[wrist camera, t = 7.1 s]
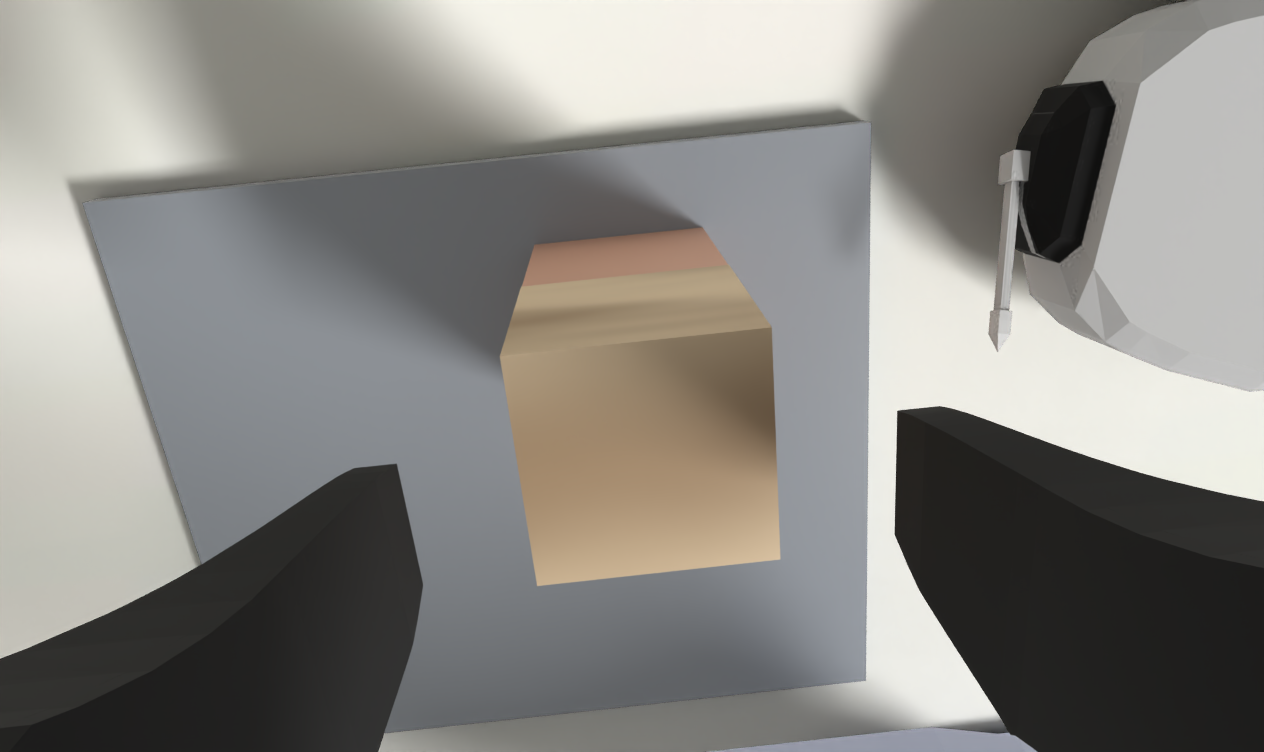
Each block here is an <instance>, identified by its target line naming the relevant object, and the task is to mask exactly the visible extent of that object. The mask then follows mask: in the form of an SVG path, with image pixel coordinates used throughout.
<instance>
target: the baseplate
mask: <svg viewBox="0 0 1264 752" xmlns="http://www.w3.org/2000/svg"><path fill="white" fill-rule="evenodd" d="M870 177H871V122H866V121H856V122H846V123H836V124H826V125H817V126H807V127H797V128H787V129H777V130H768V131H758V132H748V133H738V134H728V135H718V136H709V137H699V138H689V139H679V140H669V141H659V142H650V143H640V144H630V145H620V146H610V147H601V148H591V149H581V150H571V151H561V152H551V153H542V154H532V155H522V156H512V157H502V158H493V159H483V160H473V161H463V162H453V163H443V164H434V165H424V166H414V167H404V168H394V169H385V170H375V171H365V172H355V173H345V174H335V175H326V176H316V177H306V178H296V179H286V180H277V181H267V182H257V183H247V184H237V185H227V186H218V187H208V188H198V189H188V190H178V191H168V192H159V193H149V194H139V195H129V196H119V197H110V198H100V199H94V200H91V201H87V202H84V203H83V206H84V209H85V212H86V215H87V218H88V222H89V225H90V228H91V231H92V234H93V237H94V240H95V243H96V246H97V249H98V252H99V255H100V258H101V261H102V264H103V267H104V270H105V273H106V276H107V279H108V282H109V285H110V288H111V291H112V294H113V297H114V300H115V303H116V306H117V309H118V313H119V316H120V319H121V322H122V325H123V328H124V331H125V334H126V337H127V340H128V343H129V346H130V349H131V352H132V355H133V358H134V361H135V364H136V367H137V370H138V373H139V376H140V379H141V382H142V385H143V388H144V391H145V394H146V397H147V400H148V404H149V407H150V410H151V413H152V416H153V419H154V422H155V425H156V428H157V431H158V434H159V437H160V440H161V443H162V446H163V449H164V452H165V455H166V458H167V461H168V464H169V467H170V470H171V473H172V476H173V479H174V482H175V485H176V488H177V491H178V494H179V498H180V501H181V504H182V507H183V510H184V513H185V516H186V519H187V522H188V525H189V528H190V531H191V534H192V537H193V540H194V543H195V546H196V549H197V552H198V555H199V558H200V561H201V564H203V563H205V562H206V561H208V560H209V559H211V558H213V557H214V556H216V555H217V554H219V553H221V552H222V551H224V550H225V549H227V548H229V547H230V546H232V545H234V544H235V543H237V542H238V541H240V540H242V539H243V538H245V537H246V536H248V535H250V534H251V533H253V532H254V531H256V530H258V529H259V528H261V527H262V526H264V525H265V524H267V523H268V522H269V521H271V520H272V519H274V518H275V517H277V516H278V515H280V514H281V513H283V512H284V511H286V510H287V509H289V508H290V507H292V506H293V505H295V504H296V503H298V502H299V501H301V500H302V499H304V498H305V497H307V496H308V495H310V494H311V493H313V492H314V491H316V490H317V489H319V488H320V487H322V486H323V485H325V484H326V483H328V482H329V481H331V480H333V479H334V478H336V477H338V476H339V475H341V474H343V473H345V472H347V471H349V470H351V469H353V468H359V467H369V466H378V465H388V464H397V467H398V471H399V476H400V480H401V485H402V489H403V494H404V499H405V503H406V508H407V512H408V517H409V522H410V526H411V531H412V535H413V540H414V544H415V549H416V554H417V558H418V563H419V567H420V572H421V576H422V581H423V590H422V596H421V603H420V609H419V615H418V621H417V626H416V632H415V637H414V642H413V646H412V650H411V653H410V656H409V659H408V662H407V666H406V669H405V672H404V675H403V678H402V681H401V684H400V687H399V690H398V693H397V696H396V699H395V702H394V705H393V708H392V711H391V714H390V717H389V720H388V723H387V726H386V729H385V732H384V733H391V732H400V731H409V730H419V729H428V728H437V727H446V726H455V725H464V724H474V723H483V722H492V721H501V720H510V719H519V718H528V717H538V716H547V715H556V714H565V713H574V712H583V711H592V710H602V709H611V708H620V707H629V706H638V705H647V704H656V703H666V702H675V701H684V700H693V699H702V698H711V697H720V696H730V695H739V694H748V693H757V692H766V691H775V690H785V689H794V688H803V687H812V686H821V685H830V684H839V683H849V682H858V681H866V604H867V497H868V390H869V283H870ZM701 227H703V229H704V230H705V231H706V233H707V234H708V236H709V237H710V239H711V240H712V242H713V243H714V245H715V246H716V248H717V249H718V251H719V252H720V254H721V255H722V256H723V258H724V259H725V261H726V262H727V264H728V265H730V267H731V268H732V270H733V271H734V273H735V274H736V276H737V277H738V279H739V280H740V282H741V283H742V284H743V286H744V287H745V289H746V290H747V292H748V293H749V295H750V296H751V298H752V299H753V301H754V302H755V303H756V305H757V306H758V308H759V309H760V311H761V312H762V314H763V315H764V317H765V318H766V320H767V321H768V322H769V324H770V325H771V327H772V345H773V372H774V399H775V426H776V453H777V480H778V507H779V534H780V560H771V561H762V562H753V563H743V564H734V565H725V566H716V567H707V568H698V569H689V570H679V571H670V572H661V573H652V574H643V575H634V576H625V577H615V578H606V579H597V580H588V581H579V582H570V583H560V584H551V585H542V586H537V582H536V575H535V569H534V563H533V557H532V551H531V545H530V539H529V533H528V526H527V520H526V514H525V508H524V502H523V496H522V490H521V483H520V477H519V471H518V465H517V459H516V453H515V447H514V440H513V434H512V428H511V422H510V416H509V410H508V404H507V397H506V391H505V385H504V379H503V373H502V367H501V361H500V354H501V351H502V347H503V344H504V341H505V338H506V334H507V331H508V328H509V324H510V321H511V318H512V315H513V311H514V308H515V305H516V302H517V298H518V295H519V292H520V288H521V287H522V284H523V281H524V278H525V274H526V271H527V268H528V264H529V261H530V258H531V254H532V251H533V248H534V245H536V244H546V243H556V242H565V241H575V240H585V239H594V238H604V237H614V236H624V235H633V234H643V233H653V232H662V231H672V230H682V229H691V228H701Z"/></svg>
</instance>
